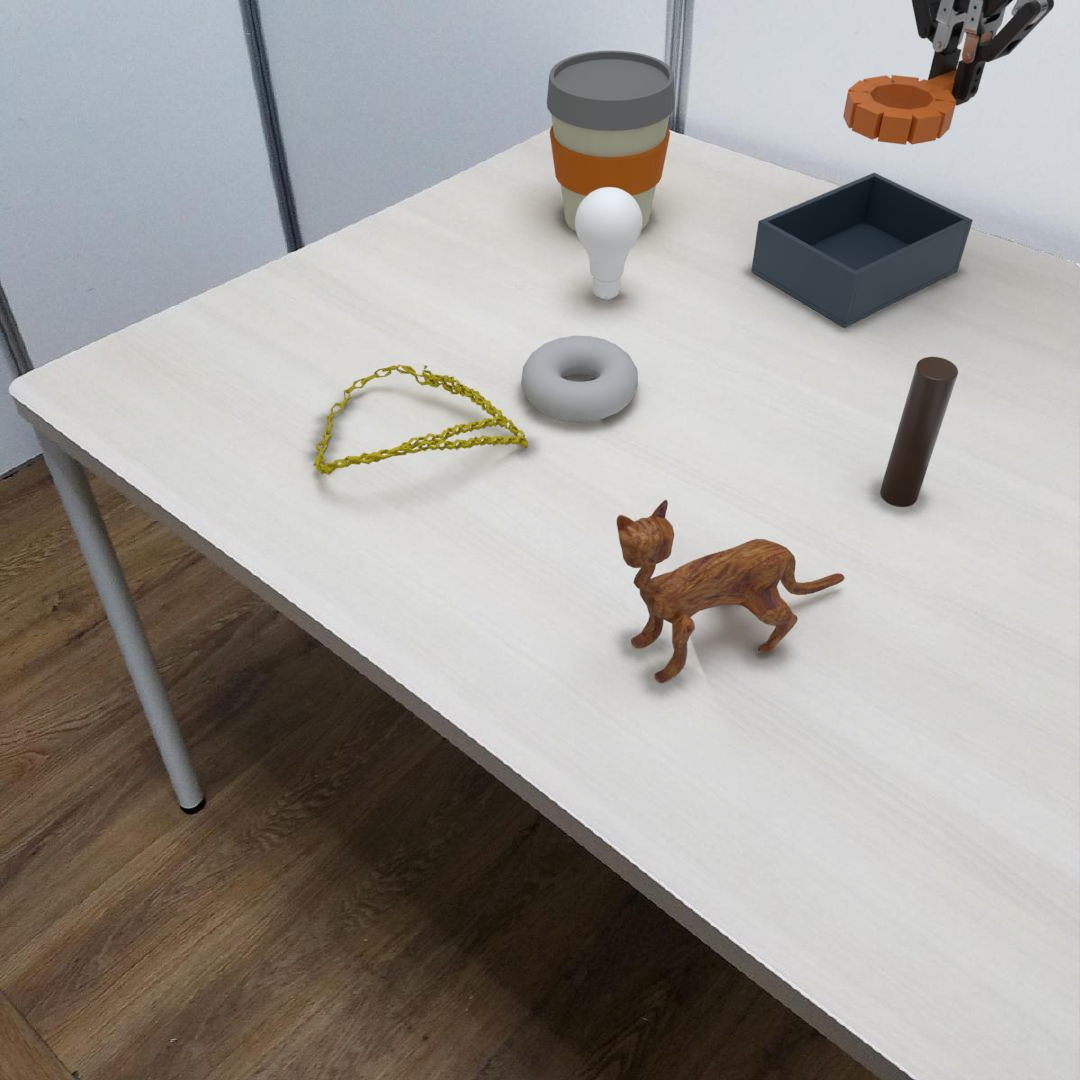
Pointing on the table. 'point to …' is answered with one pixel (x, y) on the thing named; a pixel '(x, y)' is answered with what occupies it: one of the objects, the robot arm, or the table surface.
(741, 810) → the table surface
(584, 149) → the reusable coffee cup
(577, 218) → the lightbulb
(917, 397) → the post
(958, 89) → the robot arm
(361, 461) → the decorative chain
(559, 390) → the donut
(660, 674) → the cat figurine
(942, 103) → the ring
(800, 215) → the bin
